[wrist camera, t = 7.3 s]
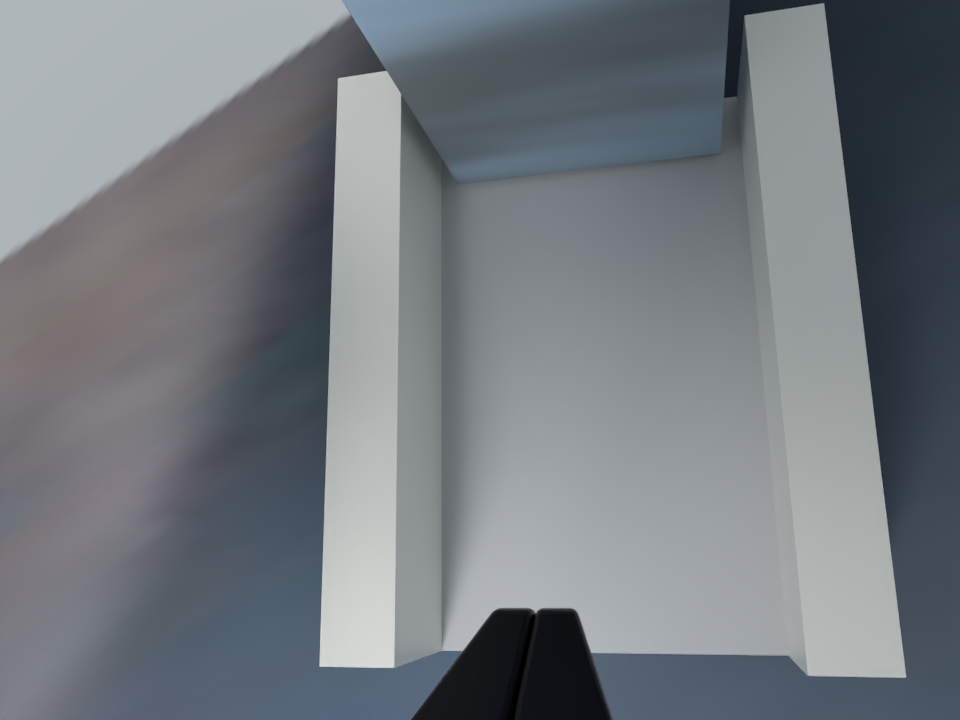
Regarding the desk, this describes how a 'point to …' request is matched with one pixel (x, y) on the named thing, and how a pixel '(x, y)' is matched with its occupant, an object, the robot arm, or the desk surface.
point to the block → (555, 79)
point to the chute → (608, 390)
